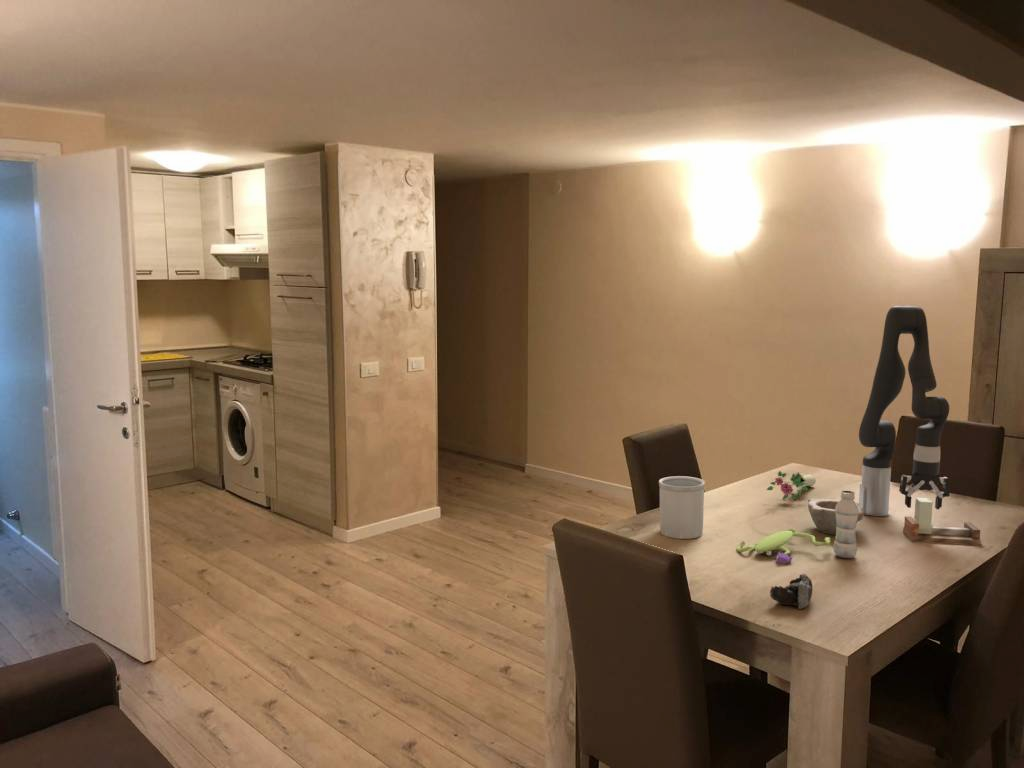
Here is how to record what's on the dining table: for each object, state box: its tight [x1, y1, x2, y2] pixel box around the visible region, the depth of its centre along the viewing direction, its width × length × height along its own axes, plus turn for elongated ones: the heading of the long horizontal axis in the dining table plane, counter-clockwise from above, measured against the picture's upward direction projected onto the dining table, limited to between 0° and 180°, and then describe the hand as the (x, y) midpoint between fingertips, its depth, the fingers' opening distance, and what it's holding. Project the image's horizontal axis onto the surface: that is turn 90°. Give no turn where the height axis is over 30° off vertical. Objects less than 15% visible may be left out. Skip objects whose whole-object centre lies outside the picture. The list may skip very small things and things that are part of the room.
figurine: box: [736, 528, 831, 565], centre depth 246 cm, size 18×27×6 cm
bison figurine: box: [769, 572, 813, 610], centre depth 208 cm, size 12×7×10 cm
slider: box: [912, 497, 934, 534], centre depth 258 cm, size 4×7×10 cm, turn 169°
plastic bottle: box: [833, 490, 859, 559], centre depth 240 cm, size 6×7×20 cm
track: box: [902, 516, 982, 546], centre depth 258 cm, size 20×10×6 cm, turn 79°
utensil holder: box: [658, 475, 706, 540], centre depth 264 cm, size 15×15×18 cm
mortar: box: [807, 497, 865, 536], centre depth 266 cm, size 17×17×9 cm
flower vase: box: [766, 470, 817, 501], centre depth 309 cm, size 12×12×35 cm
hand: (922, 507), depth 258 cm, fingers open, 8 cm apart
